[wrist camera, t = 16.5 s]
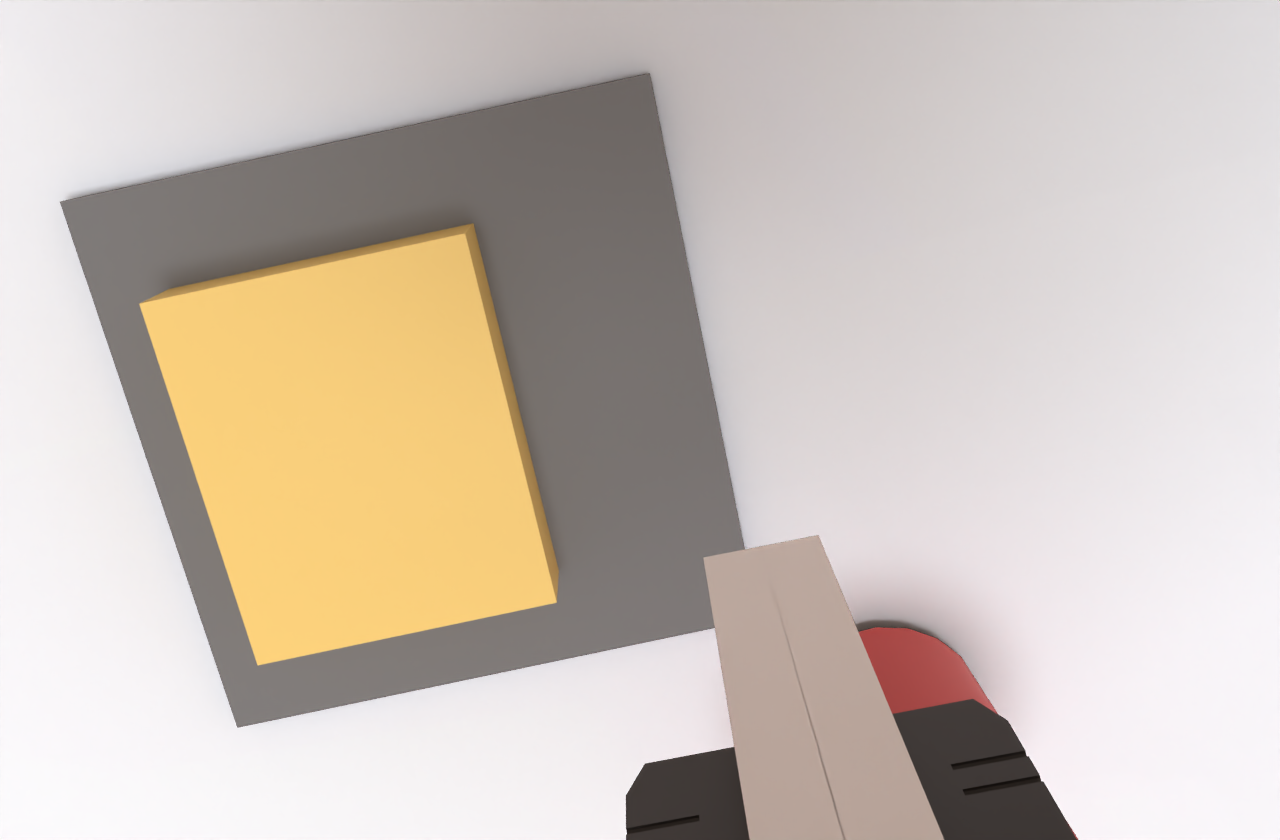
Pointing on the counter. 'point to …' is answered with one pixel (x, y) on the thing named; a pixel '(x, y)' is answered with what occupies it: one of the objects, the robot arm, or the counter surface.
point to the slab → (357, 443)
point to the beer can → (919, 670)
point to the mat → (535, 350)
